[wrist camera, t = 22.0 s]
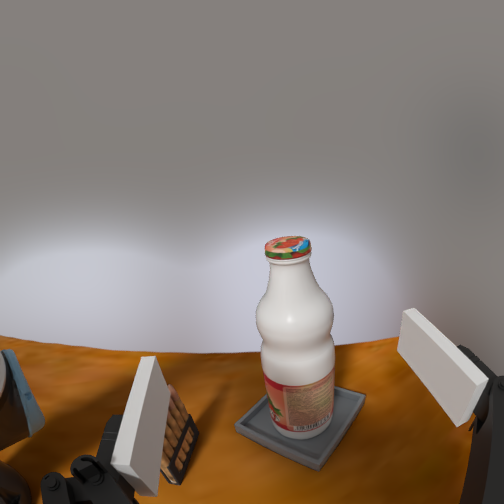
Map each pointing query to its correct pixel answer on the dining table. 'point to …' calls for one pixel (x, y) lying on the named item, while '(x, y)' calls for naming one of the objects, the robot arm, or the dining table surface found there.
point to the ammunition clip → (177, 440)
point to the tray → (304, 450)
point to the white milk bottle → (296, 342)
